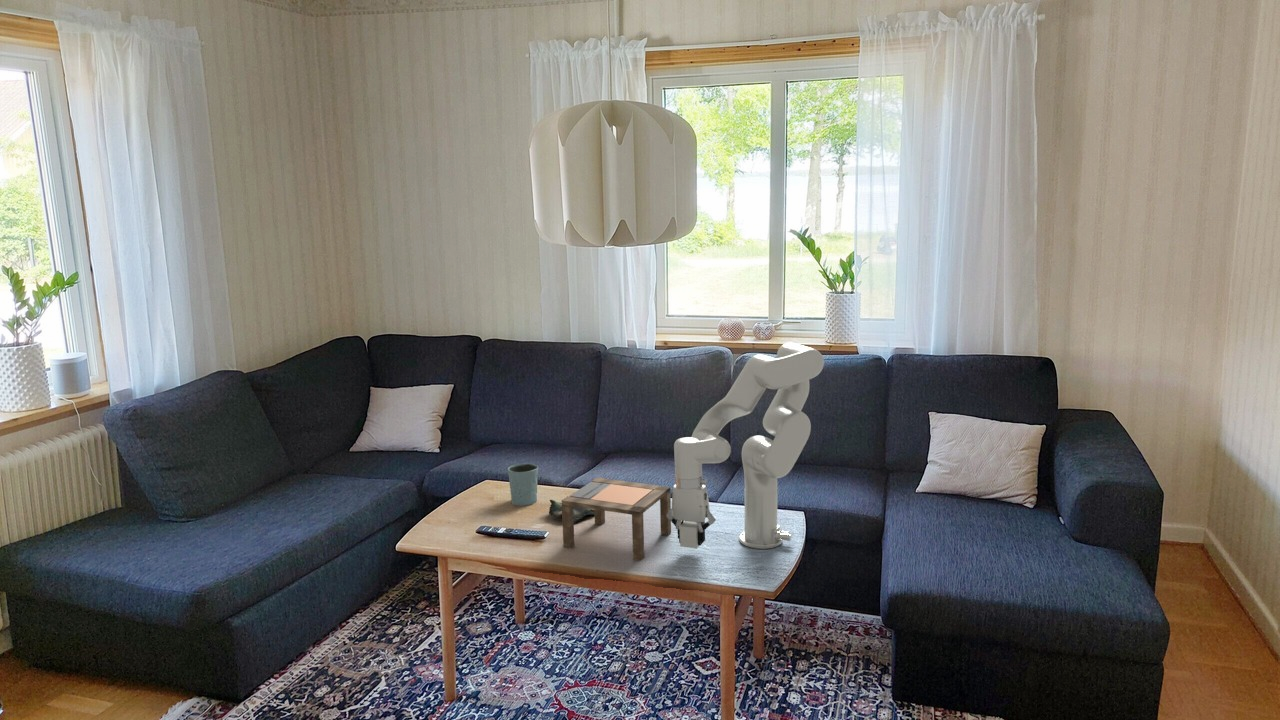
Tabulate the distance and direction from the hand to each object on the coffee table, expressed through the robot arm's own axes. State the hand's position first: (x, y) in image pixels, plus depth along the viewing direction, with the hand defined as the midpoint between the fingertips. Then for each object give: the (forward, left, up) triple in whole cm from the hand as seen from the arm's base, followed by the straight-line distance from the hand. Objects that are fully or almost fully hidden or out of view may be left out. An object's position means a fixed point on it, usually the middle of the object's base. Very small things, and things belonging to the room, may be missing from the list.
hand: (691, 541), depth 239 cm
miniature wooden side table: (+24, -1, -4) cm, 24 cm away
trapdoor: (+26, -1, +7) cm, 27 cm away
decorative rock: (+47, -16, -4) cm, 50 cm away
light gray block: (0, 0, -1) cm, 1 cm away
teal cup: (+69, -19, -4) cm, 71 cm away
